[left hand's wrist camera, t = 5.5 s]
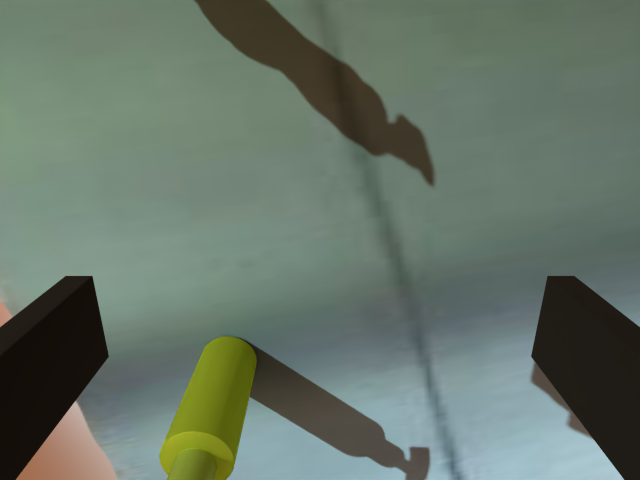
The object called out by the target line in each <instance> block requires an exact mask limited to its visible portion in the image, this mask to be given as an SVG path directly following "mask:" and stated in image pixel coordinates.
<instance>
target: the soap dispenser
mask: <svg viewBox="0 0 640 480" xmlns="http://www.w3.org/2000/svg"><path fill="white" fill-rule="evenodd" d="M256 364H257V358H256V354H255V352H254V350H253V349H252V347H251V346H250V345H249V344H248V343H246V342H245V341H243V340H241V339H239V338H236V337H230V336H225V337H219V338H216V339H214V340H212V341H211V342H209V343H208V344H207V345H206V346H205V348H204V350H203V352H202V354H201V357H200V359H199V361H198V364H197V366H196V369H195V371H194V373H193V376H192V378H191V380H190V383H189V385H188V387H187V390H186V392H185V394H184V397H183V399H182V401H181V404H180V406H179V408H178V411H177V413H176V415H175V418H174V420H173V422H172V425H171V427H170V429H169V432H168V434H167V436H166V439H165V441H164V443H163V446H162V448H161V451H160V463H161V465H162V468H163V469H164V471H165V472H166V473H167V475H168V478H167V480H226V479H227V478H228V477H229V476H230V474H231V473H232V471H233V468H234V464H235V459H236V455H237V450H238V446H239V441H240V437H241V432H242V428H243V423H244V419H245V414H246V410H247V405H248V401H249V396H250V392H251V387H252V383H253V378H254V374H255V369H256Z"/></svg>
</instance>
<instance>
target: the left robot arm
mask: <svg viewBox="0 0 640 480" xmlns="http://www.w3.org/2000/svg"><path fill="white" fill-rule="evenodd" d="M108 357H109V355H108V350H107V346H106V341H105V336H104V331H103V326H102V321H101V316H100V311H99V306H98V301H97V296H96V292H95V287H94V282H93V277H92V276H65V277H64V278H63V279H61V280H60V281H59V282H58V283H56V284H55V285H54V286H52V287H51V288H50V289H49V290H47V291H46V292H45V293H43V294H42V295H41V296H40V297H38V298H37V299H36V300H35V301H33V302H32V303H31V304H29V305H28V306H27V307H26V308H24V309H23V310H22V311H20V312H19V313H18V314H17V315H15V316H14V317H13V318H11V319H10V320H9V321H8V322H6V323H5V324H4V325H3V326H1V327H0V480H16V478H17V477H18V476H19V474H20V473H21V472H22V471H23V469H24V468H25V467H26V465H27V464H28V463H29V461H30V460H31V459H32V457H33V456H34V455H35V453H36V452H37V451H38V449H39V448H40V447H41V445H42V444H43V443H44V441H45V440H46V439H47V437H48V436H49V435H50V434H51V432H52V431H53V430H54V428H55V427H56V426H57V424H58V423H59V422H60V420H61V419H62V418H63V416H64V415H65V414H66V412H67V411H68V410H69V408H70V407H71V406H72V404H73V403H74V402H75V401H76V399H77V398H78V397H79V395H80V394H81V393H82V391H83V390H84V389H85V387H86V386H87V385H88V383H89V382H90V381H91V379H92V378H93V377H94V375H95V374H96V373H97V371H98V370H99V369H100V367H101V366H102V365H103V364H104V362H105V361H106V360H107V358H108ZM531 357H532V358H533V360H534V361H535V362H536V364H537V365H538V366H539V367H540V369H541V370H542V371H543V373H544V374H545V375H546V377H547V378H548V379H549V381H550V382H551V383H552V385H553V386H554V387H555V389H556V390H557V391H558V393H559V394H560V395H561V397H562V398H563V399H564V401H565V402H566V403H567V404H568V406H569V407H570V408H571V410H572V411H573V412H574V414H575V415H576V416H577V418H578V419H579V420H580V422H581V423H582V424H583V426H584V427H585V428H586V430H587V431H588V432H589V434H590V435H591V436H592V437H593V439H594V440H595V441H596V443H597V444H598V445H599V447H600V448H601V449H602V451H603V452H604V453H605V455H606V456H607V457H608V459H609V460H610V461H611V463H612V464H613V465H614V467H615V468H616V469H617V471H618V472H619V473H620V474H621V476H622V477H623V478H624V480H640V327H639V326H637V325H636V324H635V323H634V322H632V321H631V320H630V319H629V318H627V317H626V316H625V315H623V314H622V313H621V312H620V311H618V310H617V309H616V308H614V307H613V306H612V305H611V304H609V303H608V302H607V301H605V300H604V299H603V298H602V297H600V296H599V295H598V294H597V293H595V292H594V291H593V290H591V289H590V288H589V287H588V286H586V285H585V284H584V283H582V282H581V281H580V280H579V279H577V278H576V277H575V276H548V277H547V282H546V287H545V292H544V296H543V301H542V306H541V311H540V316H539V321H538V326H537V331H536V336H535V341H534V346H533V350H532V355H531Z"/></svg>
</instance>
